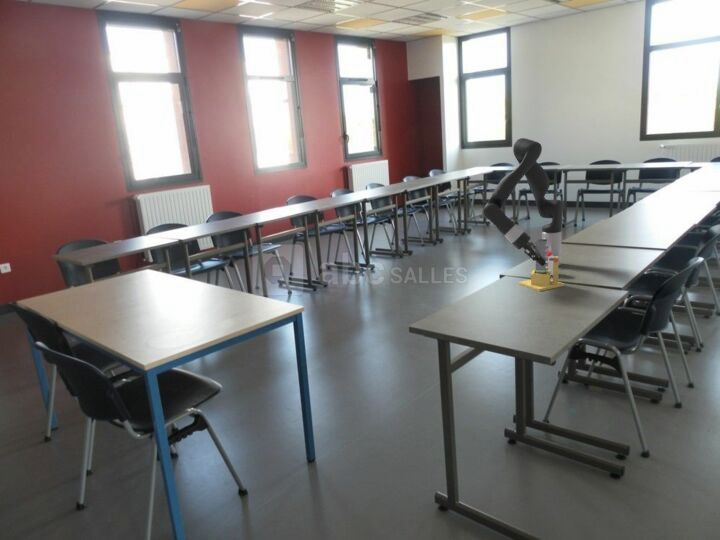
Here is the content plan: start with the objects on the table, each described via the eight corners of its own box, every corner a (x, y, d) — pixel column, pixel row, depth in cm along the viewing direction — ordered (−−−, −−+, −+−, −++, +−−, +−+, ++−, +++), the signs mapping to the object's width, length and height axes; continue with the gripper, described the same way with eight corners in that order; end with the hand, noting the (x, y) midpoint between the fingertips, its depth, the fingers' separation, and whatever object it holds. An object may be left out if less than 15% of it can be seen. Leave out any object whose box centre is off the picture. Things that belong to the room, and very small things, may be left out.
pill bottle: (533, 273, 259) (533, 251, 256) (547, 271, 261) (547, 249, 258) (543, 276, 251) (543, 254, 249) (557, 274, 254) (557, 252, 251)
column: (534, 283, 238) (534, 241, 233) (535, 280, 242) (535, 239, 238) (547, 283, 236) (547, 241, 231) (548, 280, 240) (548, 239, 235)
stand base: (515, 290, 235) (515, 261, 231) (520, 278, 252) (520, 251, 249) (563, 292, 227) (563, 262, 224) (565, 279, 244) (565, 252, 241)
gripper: (521, 234, 230) (550, 261, 228) (525, 228, 243) (552, 253, 241) (509, 246, 233) (537, 272, 232) (513, 239, 246) (540, 264, 244)
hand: (544, 262), depth 236 cm, fingers open, 6 cm apart
